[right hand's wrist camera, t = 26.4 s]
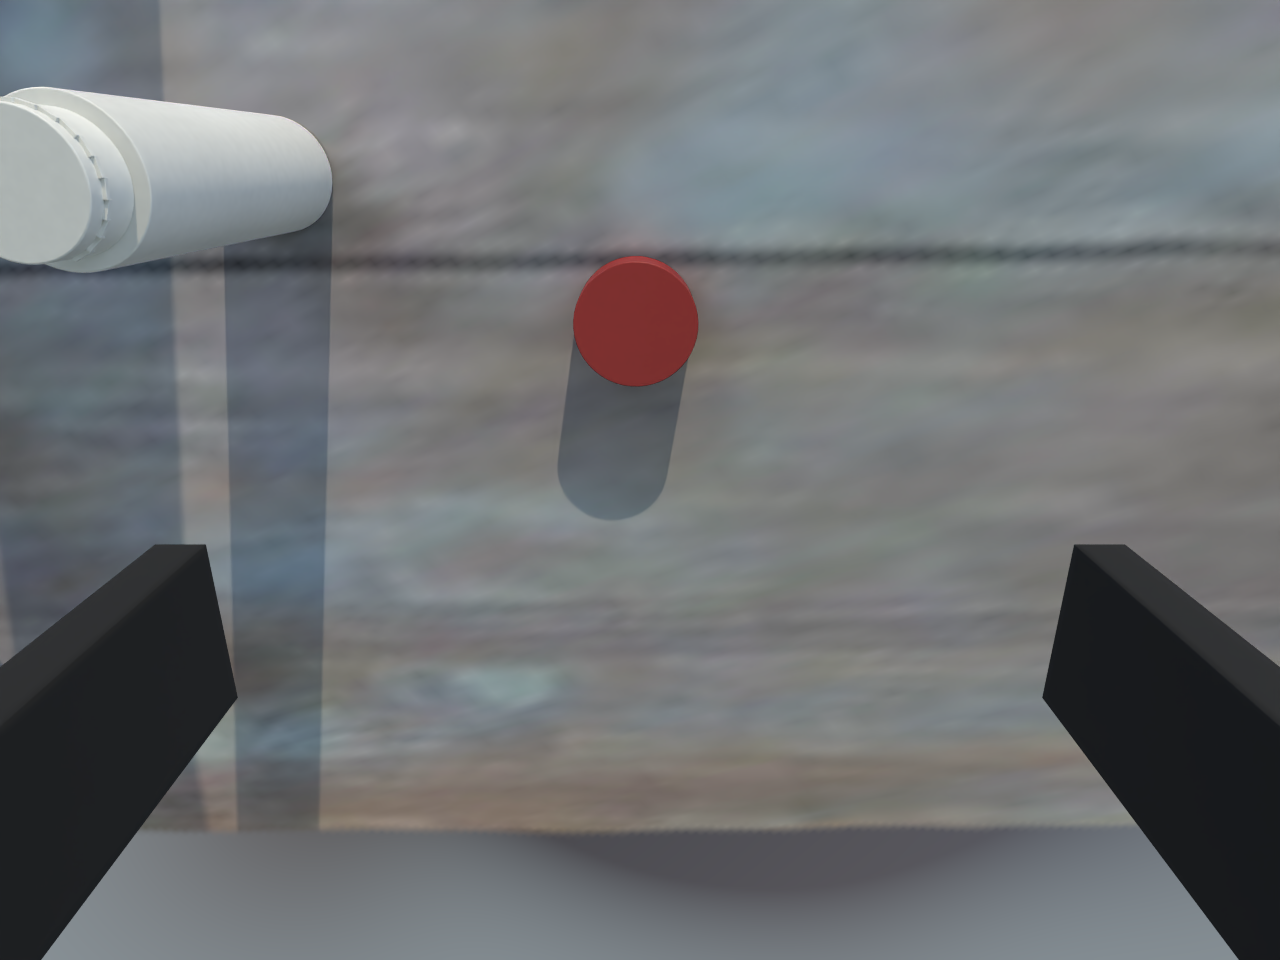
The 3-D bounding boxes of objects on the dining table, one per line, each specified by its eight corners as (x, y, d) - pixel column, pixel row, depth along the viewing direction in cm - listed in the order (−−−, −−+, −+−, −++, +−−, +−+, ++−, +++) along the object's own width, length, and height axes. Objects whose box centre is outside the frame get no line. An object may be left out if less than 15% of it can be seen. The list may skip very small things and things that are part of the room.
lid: (560, 278, 37) (555, 285, 35) (675, 239, 36) (677, 244, 34) (599, 389, 39) (597, 401, 37) (709, 354, 38) (713, 365, 36)
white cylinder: (355, 178, 35) (147, 192, 20) (285, 255, 37) (40, 320, 22) (268, 89, 34) (-21, 33, 19) (198, 171, 35) (-125, 178, 20)
